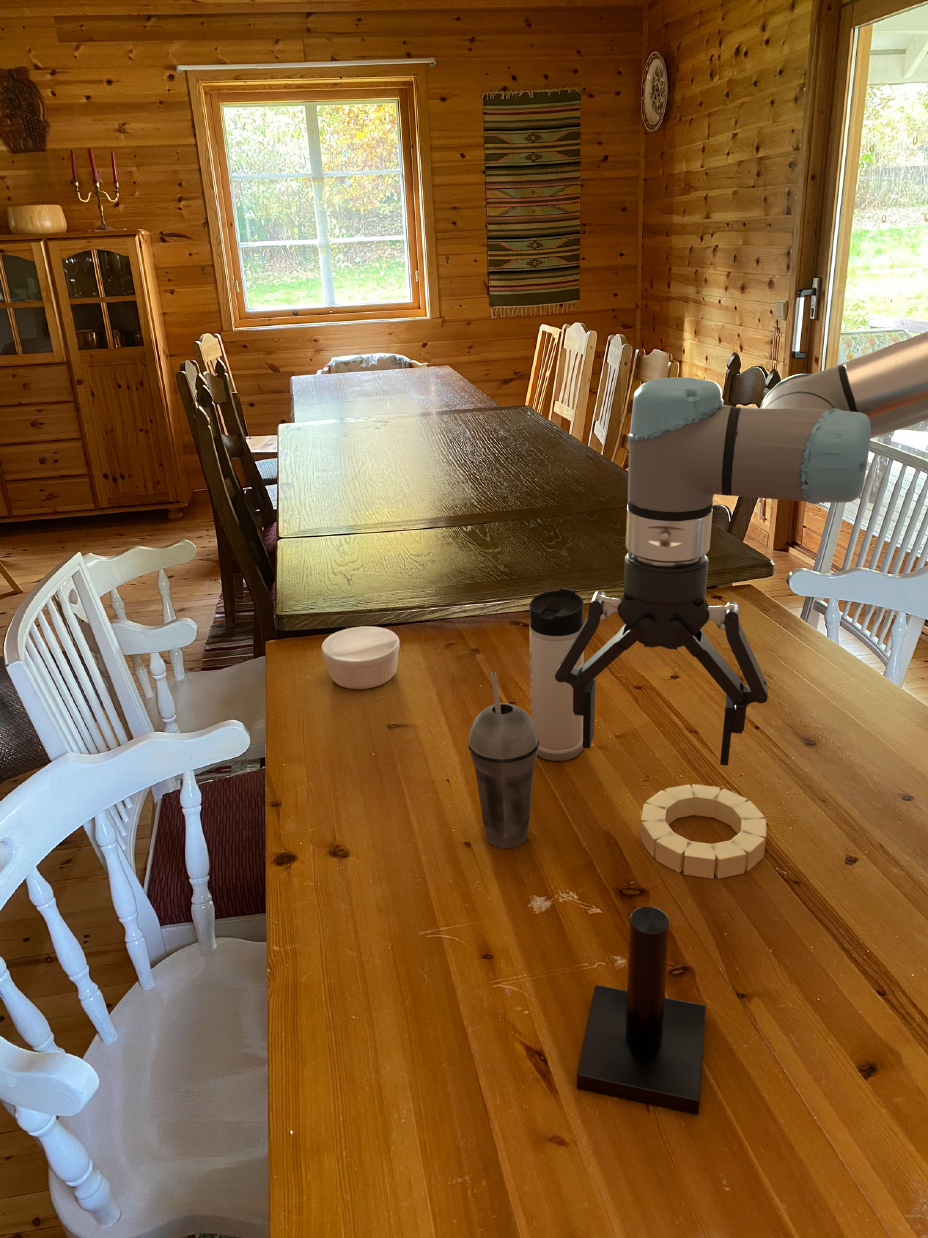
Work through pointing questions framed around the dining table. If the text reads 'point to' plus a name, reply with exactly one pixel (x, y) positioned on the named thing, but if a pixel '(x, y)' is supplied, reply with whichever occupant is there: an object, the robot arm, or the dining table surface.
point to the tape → (697, 855)
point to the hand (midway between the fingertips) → (655, 749)
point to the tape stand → (644, 1029)
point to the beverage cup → (504, 769)
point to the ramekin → (361, 656)
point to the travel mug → (551, 700)
